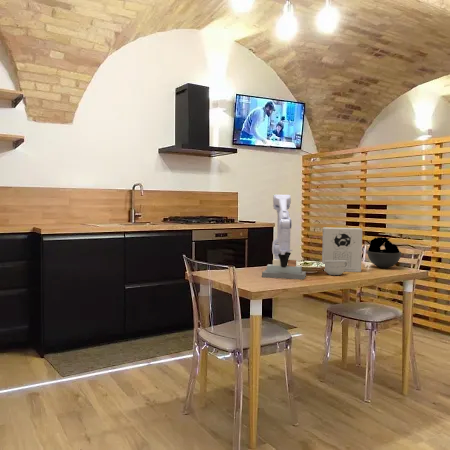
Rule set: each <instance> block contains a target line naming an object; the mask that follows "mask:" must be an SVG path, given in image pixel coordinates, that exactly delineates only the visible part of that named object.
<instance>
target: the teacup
mask: <svg viewBox="0 0 450 450" xmlns="http://www.w3.org/2000/svg"><path fill="white" fill-rule="evenodd" d="M344 262H345V263H346V265H345V266H344ZM347 266H348V262H347V261H345V260H344V261H343V260H326V261H325V271H324V272H326V274H328V275H330V276H339V275H342V274H343V273H344V269H345V268H346V267H347Z"/></svg>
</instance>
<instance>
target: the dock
mask: <svg viewBox="0 0 450 450" xmlns="http://www.w3.org/2000/svg"><path fill="white" fill-rule="evenodd" d="M306 276H307V271H303V270H302V272H301V274H300V273H280V272H267V269H264V270H263V271H262V272H261V277H262V278H269V279H270V278H271V279H287V280H288V279H289V280H303V279H304V280H305V278H306Z"/></svg>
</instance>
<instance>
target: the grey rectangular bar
mask: <svg viewBox="0 0 450 450" xmlns="http://www.w3.org/2000/svg"><path fill="white" fill-rule="evenodd" d="M266 270H267V272H280V273H300V274H301V272H302V271H303V267H302V265H296V267H292V266H288V264H287V265H286V267H285V268H284V267H281V266H273V263H272V264H269V263H268V264H267V265H266Z"/></svg>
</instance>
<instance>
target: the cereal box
mask: <svg viewBox="0 0 450 450" xmlns="http://www.w3.org/2000/svg"><path fill="white" fill-rule="evenodd" d="M321 247H322V252H321V264H322V263H323V264H325V261H326V260H343V261H344V260H345V261H347V262H348V266H347V267H346V268H345V269H344V272H348V273H362V256H363V255H362V254H363V253H362V251H363V228H361V227H326V226H325V227H322V246H321ZM345 265H346V263H345V262H344V266H345ZM323 272H326V271H325V269H324V271H323ZM344 272H343V273H344Z"/></svg>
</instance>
